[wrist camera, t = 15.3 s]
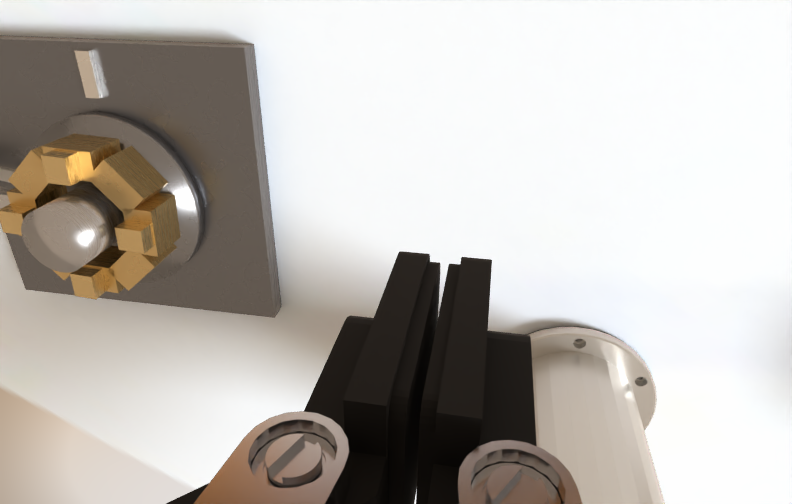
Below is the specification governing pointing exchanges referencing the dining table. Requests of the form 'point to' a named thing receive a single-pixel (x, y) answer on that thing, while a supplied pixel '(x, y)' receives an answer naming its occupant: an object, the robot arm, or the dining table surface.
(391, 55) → the dining table surface
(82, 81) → the base plate
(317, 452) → the robot arm
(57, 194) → the knobbed lever handle
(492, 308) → the dining table surface
